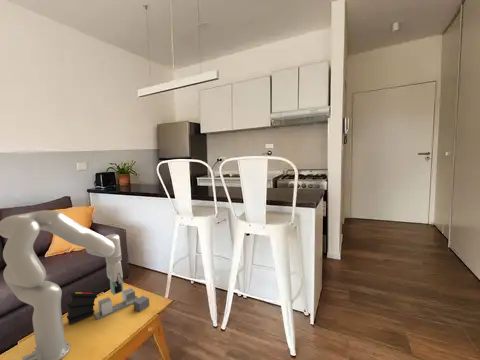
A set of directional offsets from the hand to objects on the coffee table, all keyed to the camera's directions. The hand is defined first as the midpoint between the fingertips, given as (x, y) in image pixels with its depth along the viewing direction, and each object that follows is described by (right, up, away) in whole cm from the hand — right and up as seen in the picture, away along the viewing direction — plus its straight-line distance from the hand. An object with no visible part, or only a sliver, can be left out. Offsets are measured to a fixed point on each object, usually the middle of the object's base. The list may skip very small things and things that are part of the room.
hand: (116, 290), depth 136 cm
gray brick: (+13, -10, +1) cm, 16 cm away
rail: (0, -10, +1) cm, 10 cm away
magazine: (-14, -11, -6) cm, 19 cm away
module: (0, -1, 0) cm, 1 cm away
